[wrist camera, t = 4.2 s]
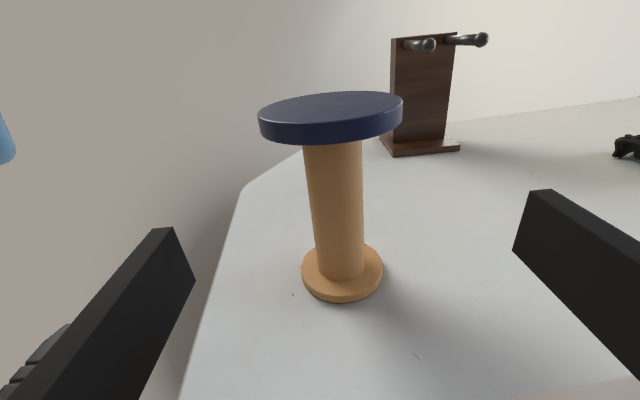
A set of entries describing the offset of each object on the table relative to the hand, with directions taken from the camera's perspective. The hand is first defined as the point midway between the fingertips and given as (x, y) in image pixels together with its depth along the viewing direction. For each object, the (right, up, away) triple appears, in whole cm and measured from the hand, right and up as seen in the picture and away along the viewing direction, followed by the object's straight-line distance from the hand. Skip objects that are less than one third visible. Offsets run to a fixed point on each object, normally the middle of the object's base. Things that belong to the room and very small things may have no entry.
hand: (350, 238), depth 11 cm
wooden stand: (+16, +10, +37) cm, 42 cm away
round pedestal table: (+1, -5, +14) cm, 15 cm away
